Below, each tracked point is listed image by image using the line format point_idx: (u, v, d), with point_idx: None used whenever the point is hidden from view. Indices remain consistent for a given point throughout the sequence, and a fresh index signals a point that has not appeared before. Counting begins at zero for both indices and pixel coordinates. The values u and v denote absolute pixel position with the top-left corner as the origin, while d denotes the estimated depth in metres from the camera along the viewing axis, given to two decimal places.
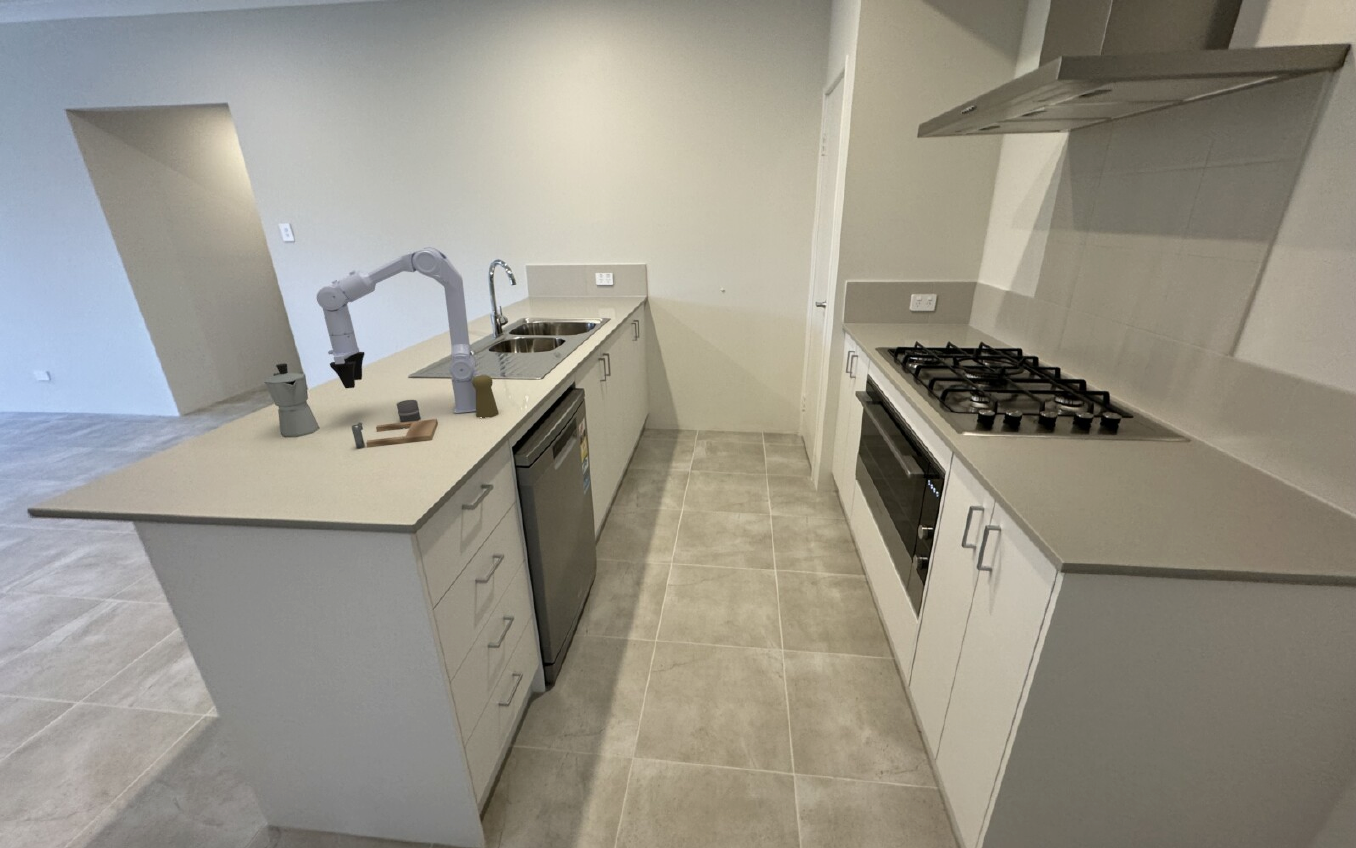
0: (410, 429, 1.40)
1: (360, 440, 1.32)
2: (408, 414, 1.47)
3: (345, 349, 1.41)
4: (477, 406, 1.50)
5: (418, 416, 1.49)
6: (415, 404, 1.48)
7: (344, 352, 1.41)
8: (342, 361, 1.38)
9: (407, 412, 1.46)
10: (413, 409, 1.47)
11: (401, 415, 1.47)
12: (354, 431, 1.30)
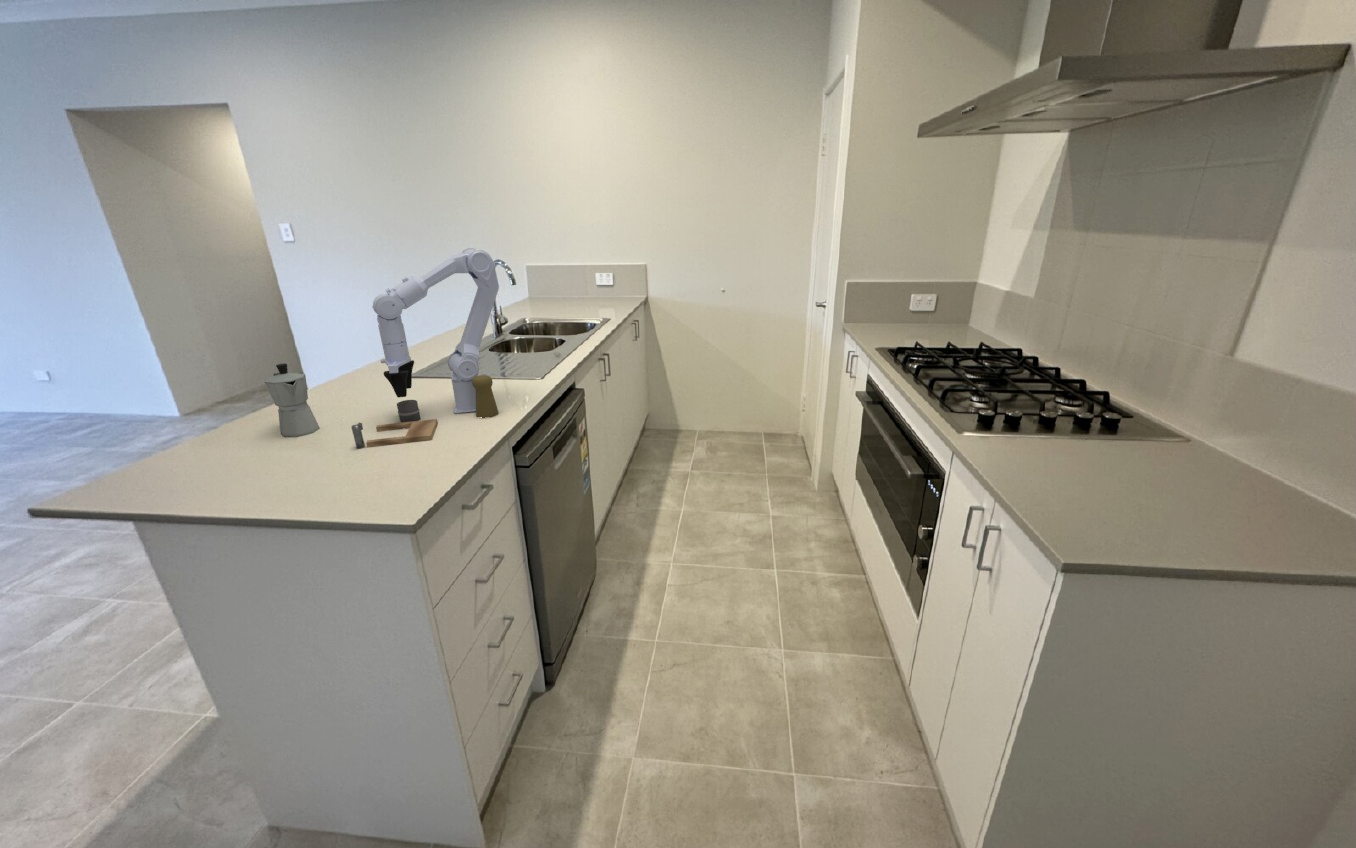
0: (410, 429, 1.40)
1: (360, 440, 1.32)
2: (408, 414, 1.47)
3: (398, 358, 1.41)
4: (477, 406, 1.50)
5: (418, 416, 1.49)
6: (415, 404, 1.48)
7: (397, 361, 1.41)
8: (396, 370, 1.38)
9: (407, 412, 1.46)
10: (413, 409, 1.47)
11: (401, 415, 1.47)
12: (354, 431, 1.30)
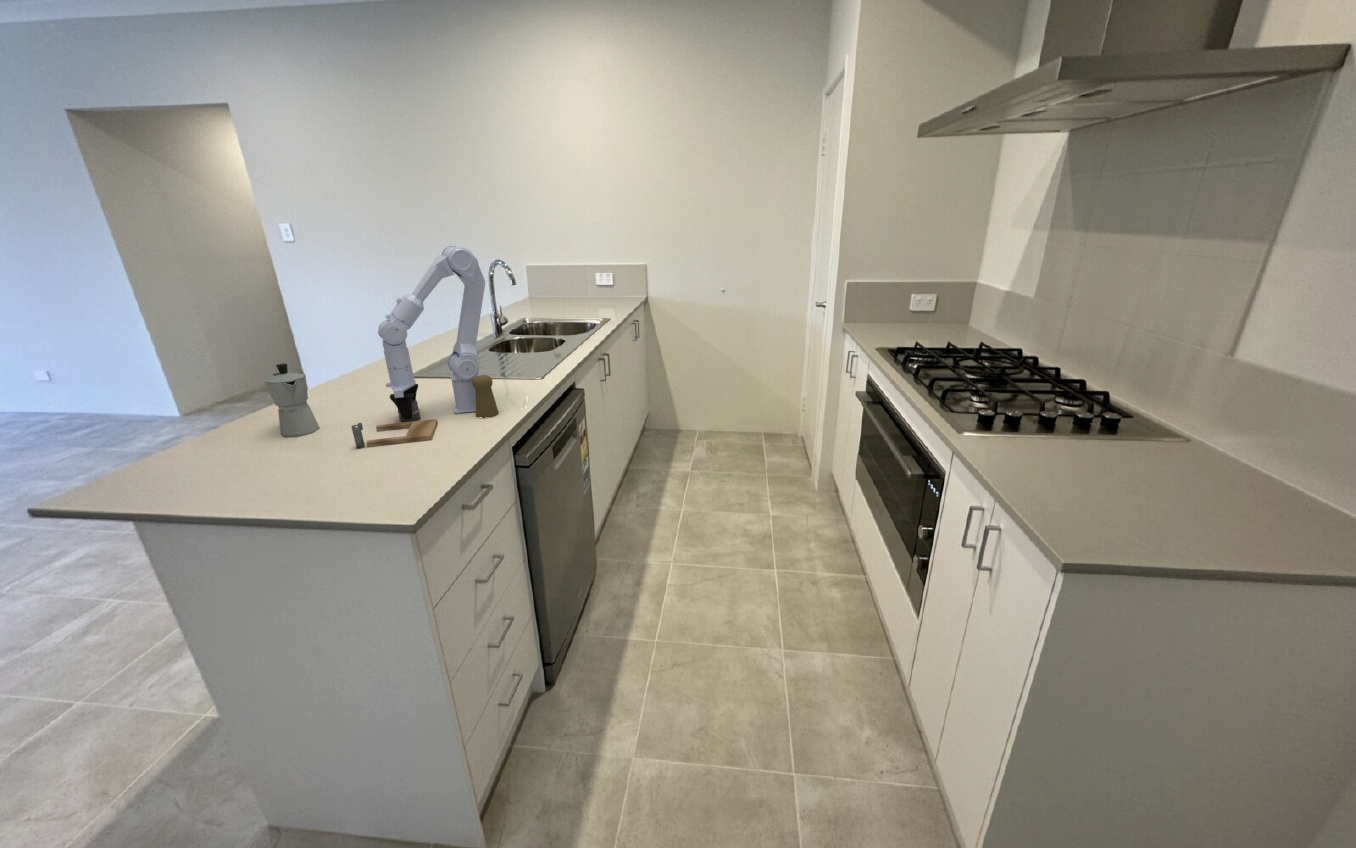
0: (410, 429, 1.40)
1: (360, 440, 1.32)
2: None
3: (403, 382, 1.43)
4: (477, 406, 1.50)
5: (418, 416, 1.49)
6: (415, 404, 1.47)
7: (402, 385, 1.43)
8: (401, 395, 1.40)
9: None
10: (413, 409, 1.47)
11: None
12: (354, 431, 1.30)
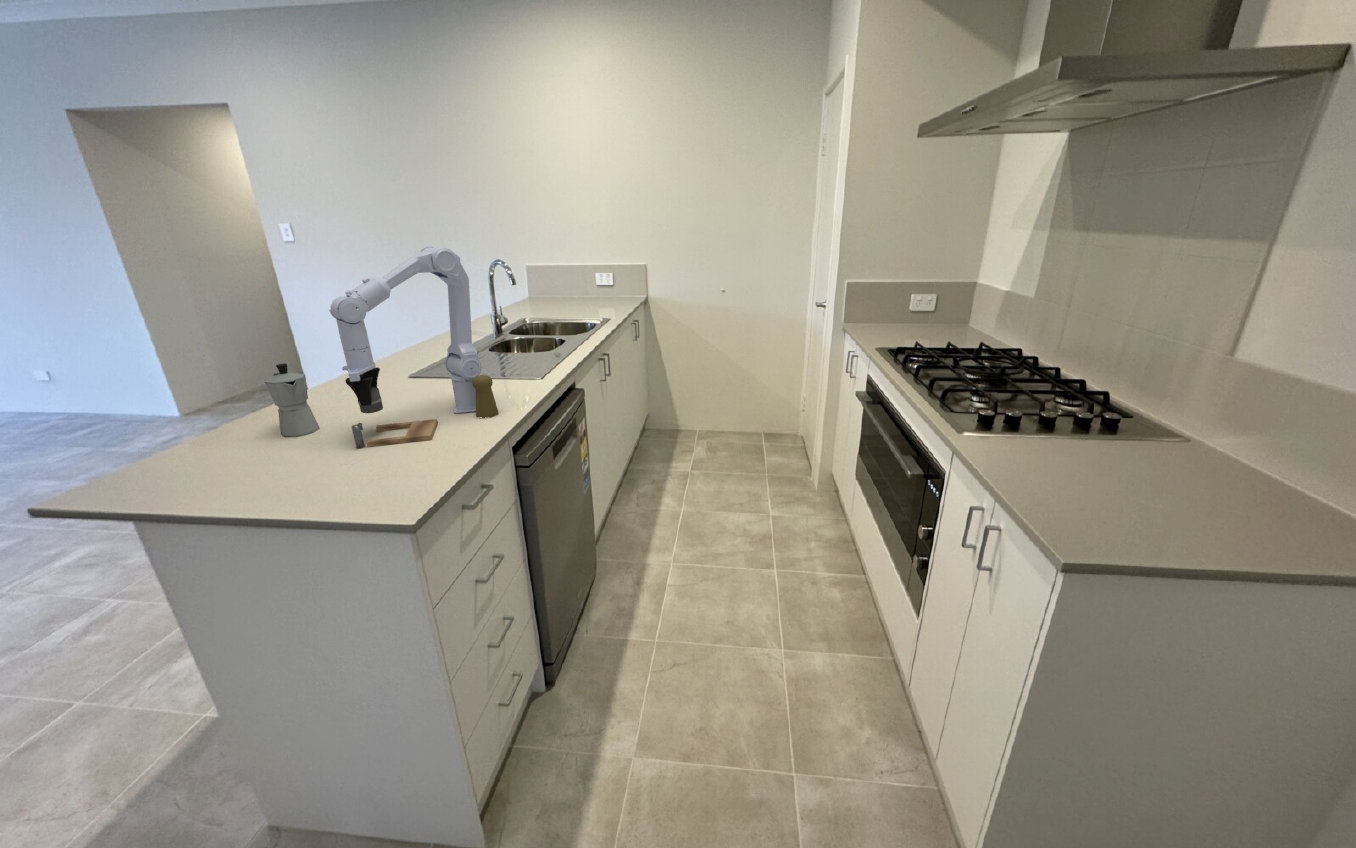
0: (410, 429, 1.40)
1: (360, 440, 1.32)
2: None
3: (360, 365, 1.31)
4: (477, 406, 1.50)
5: (381, 405, 1.38)
6: (377, 393, 1.36)
7: (359, 368, 1.31)
8: (357, 378, 1.28)
9: None
10: (375, 398, 1.36)
11: None
12: (354, 431, 1.30)
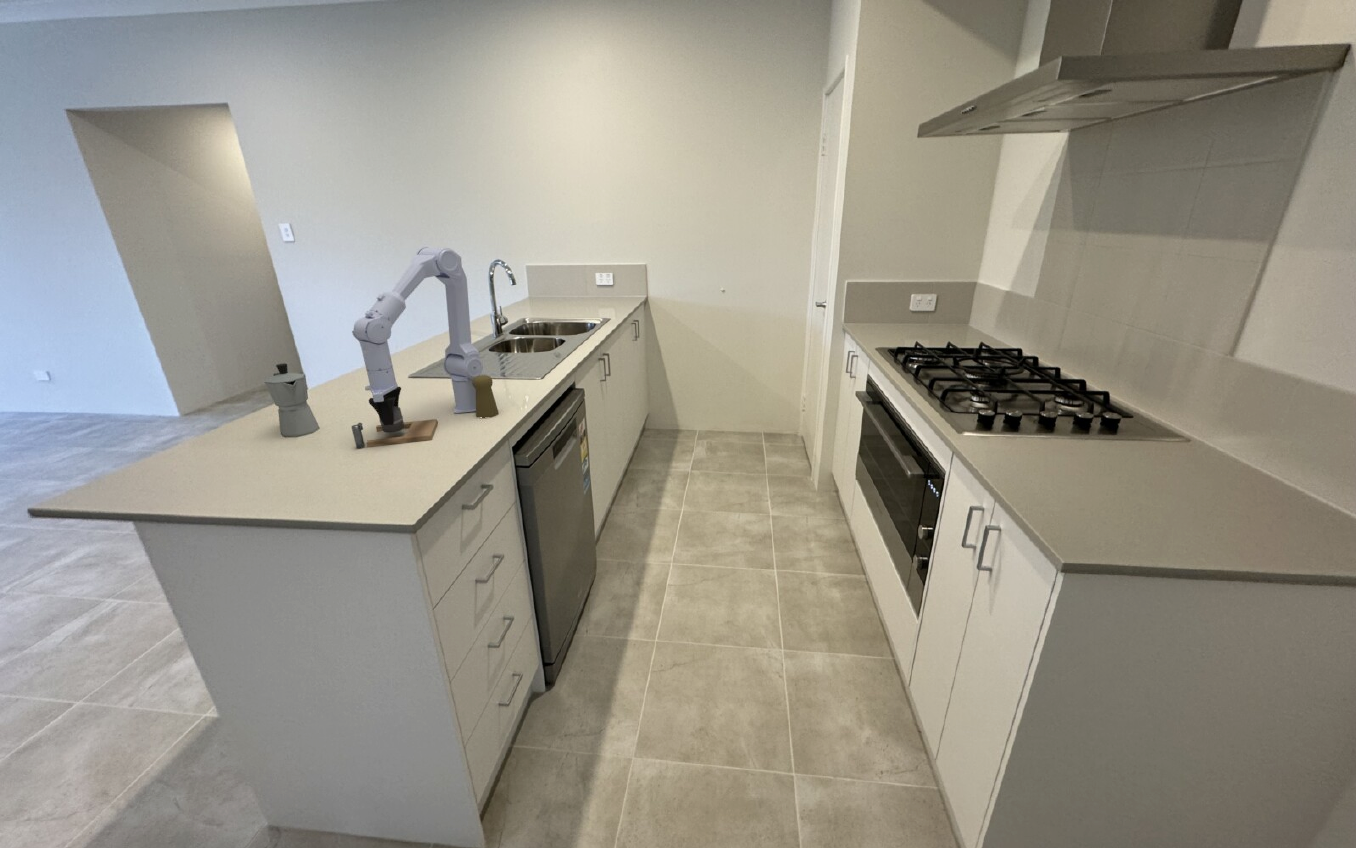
0: (410, 429, 1.40)
1: (360, 440, 1.32)
2: None
3: (383, 385, 1.32)
4: (477, 406, 1.50)
5: (402, 424, 1.38)
6: (399, 412, 1.37)
7: (382, 388, 1.32)
8: (381, 399, 1.29)
9: None
10: (397, 417, 1.36)
11: None
12: (354, 431, 1.30)
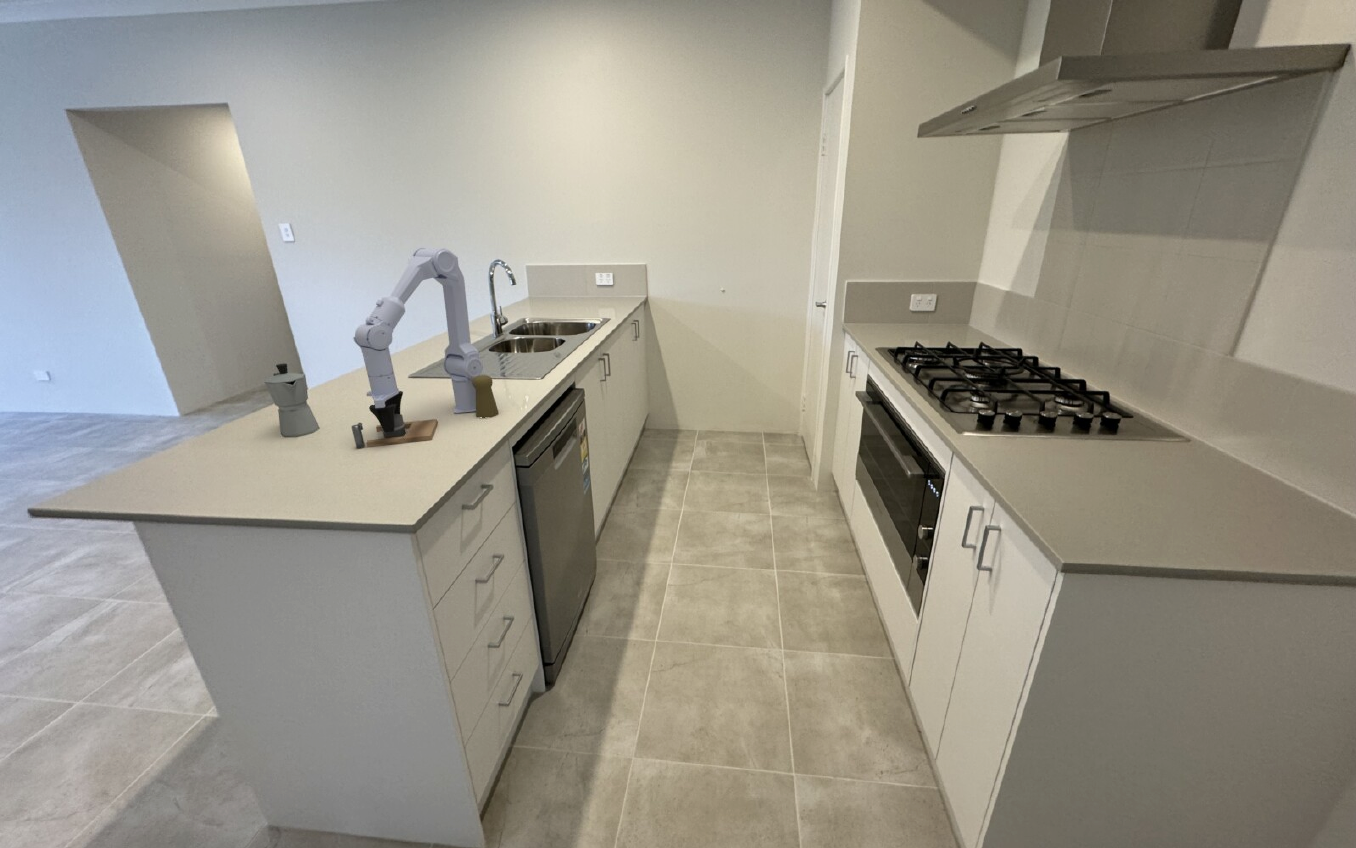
0: (410, 429, 1.40)
1: (360, 440, 1.32)
2: None
3: (384, 391, 1.32)
4: (477, 406, 1.50)
5: (404, 431, 1.39)
6: (400, 419, 1.37)
7: (384, 394, 1.32)
8: (383, 405, 1.29)
9: None
10: (398, 424, 1.37)
11: None
12: (354, 431, 1.30)
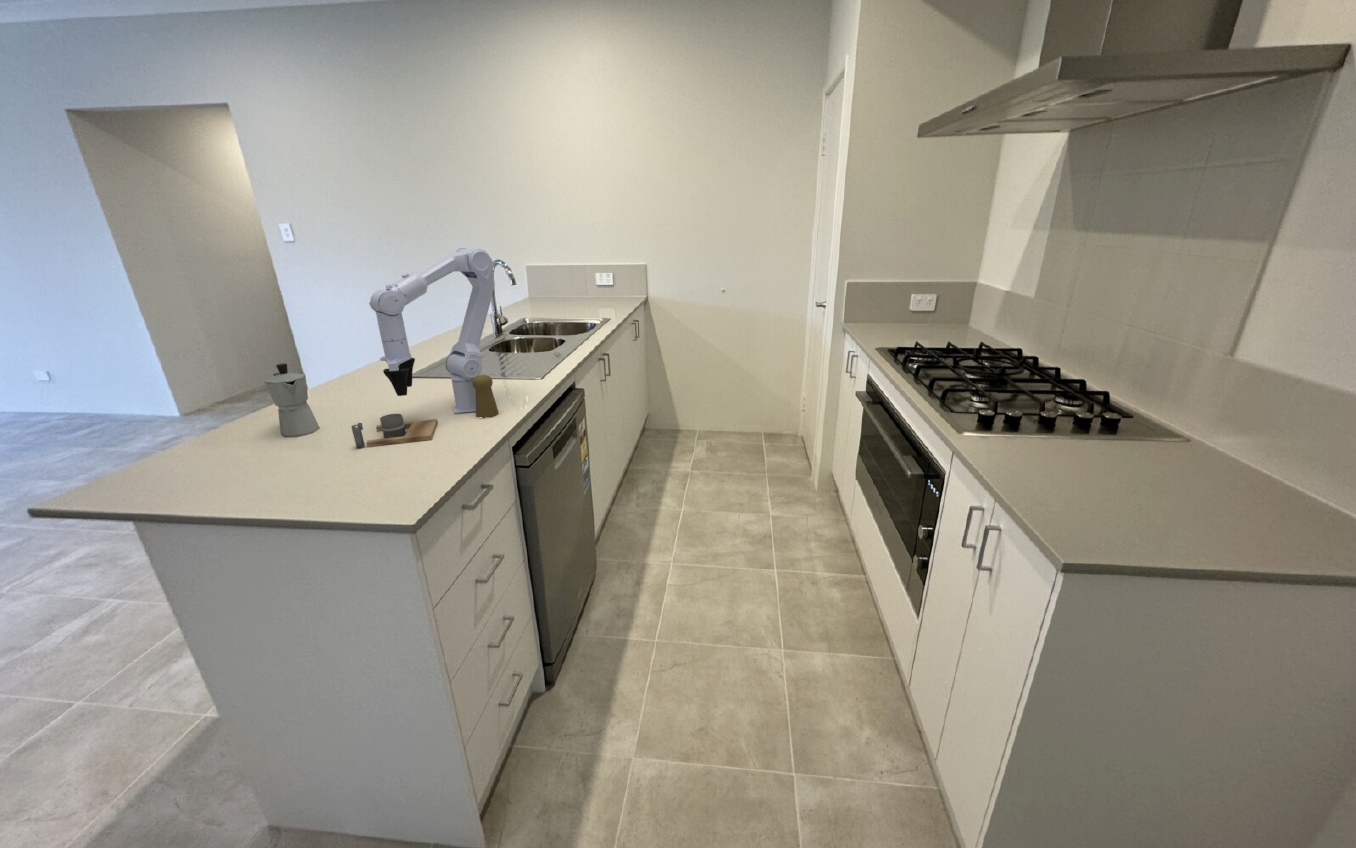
0: (410, 429, 1.40)
1: (360, 440, 1.32)
2: (393, 430, 1.36)
3: (398, 356, 1.37)
4: (477, 406, 1.50)
5: (404, 431, 1.39)
6: (400, 419, 1.37)
7: (397, 358, 1.37)
8: (396, 368, 1.34)
9: (392, 427, 1.36)
10: (398, 424, 1.37)
11: (385, 431, 1.36)
12: (354, 431, 1.30)
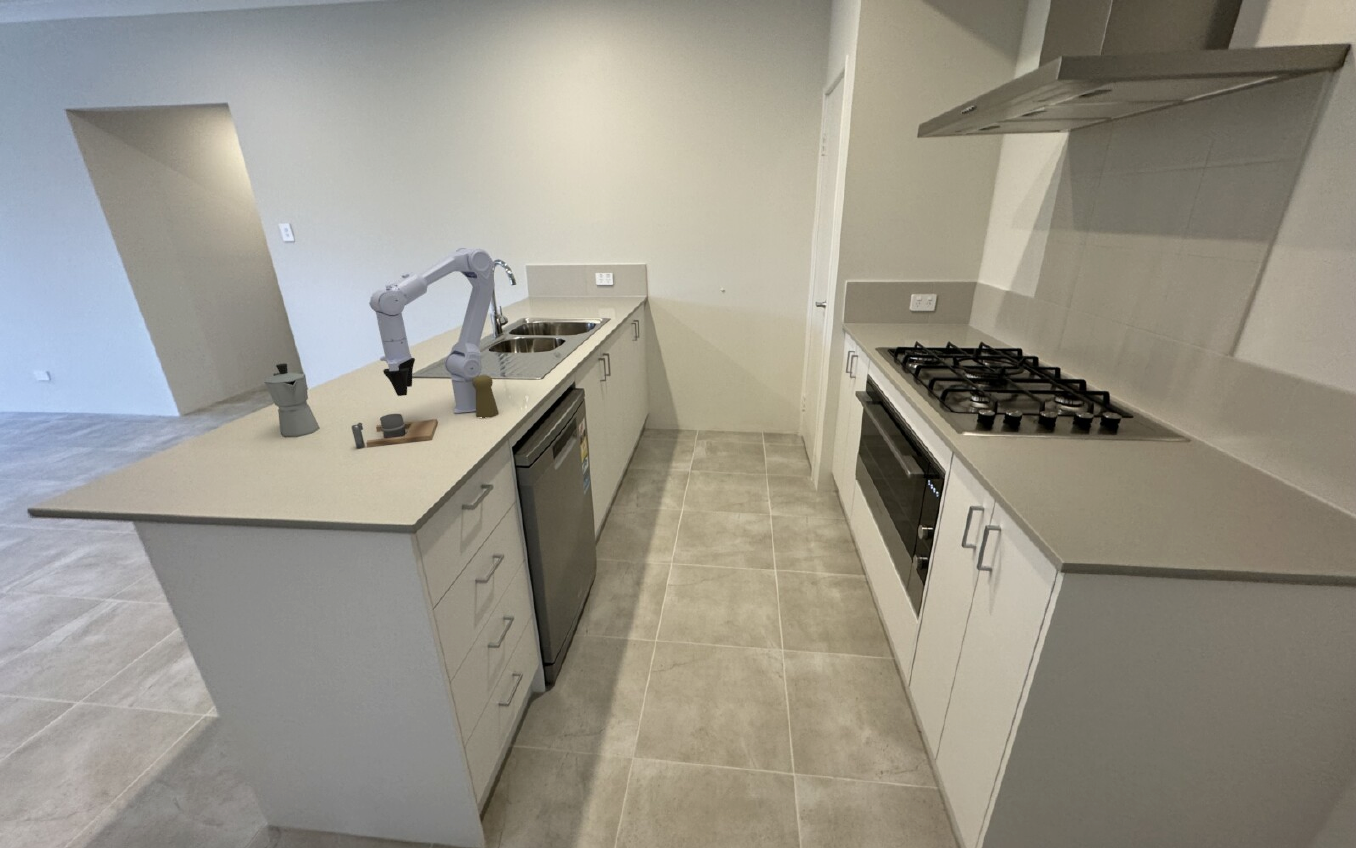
0: (410, 429, 1.40)
1: (360, 440, 1.32)
2: (393, 430, 1.36)
3: (398, 356, 1.37)
4: (477, 406, 1.50)
5: (404, 431, 1.39)
6: (400, 419, 1.37)
7: (397, 358, 1.37)
8: (396, 368, 1.34)
9: (392, 427, 1.36)
10: (398, 424, 1.37)
11: (385, 431, 1.36)
12: (354, 431, 1.30)
